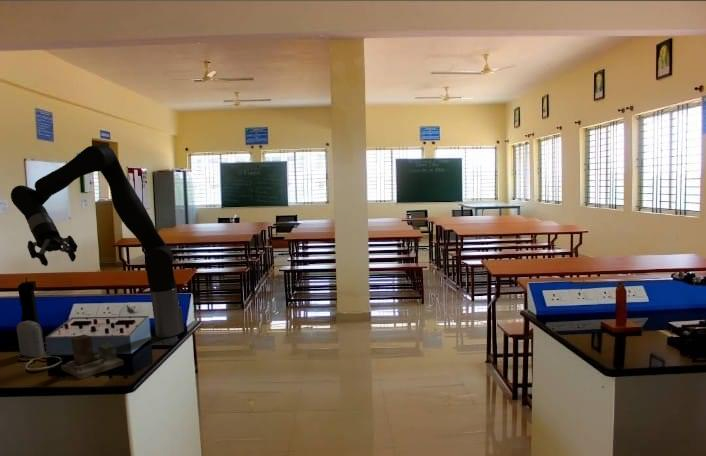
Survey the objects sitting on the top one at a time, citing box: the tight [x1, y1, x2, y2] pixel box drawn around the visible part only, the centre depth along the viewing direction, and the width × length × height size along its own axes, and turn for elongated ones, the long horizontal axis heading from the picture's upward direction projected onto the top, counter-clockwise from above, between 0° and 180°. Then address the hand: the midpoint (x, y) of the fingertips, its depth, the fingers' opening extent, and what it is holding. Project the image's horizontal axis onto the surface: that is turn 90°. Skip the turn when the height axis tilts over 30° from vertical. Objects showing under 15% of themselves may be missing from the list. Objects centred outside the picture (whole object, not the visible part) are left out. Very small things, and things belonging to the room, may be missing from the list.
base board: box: [61, 342, 125, 380], centre depth 161 cm, size 13×15×6 cm
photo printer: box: [16, 321, 46, 358], centre depth 180 cm, size 10×4×12 cm, turn 60°
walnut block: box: [70, 334, 95, 366], centre depth 159 cm, size 4×5×9 cm
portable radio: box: [17, 277, 44, 336], centre depth 202 cm, size 8×6×25 cm
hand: (60, 262), depth 173 cm, fingers open, 8 cm apart
